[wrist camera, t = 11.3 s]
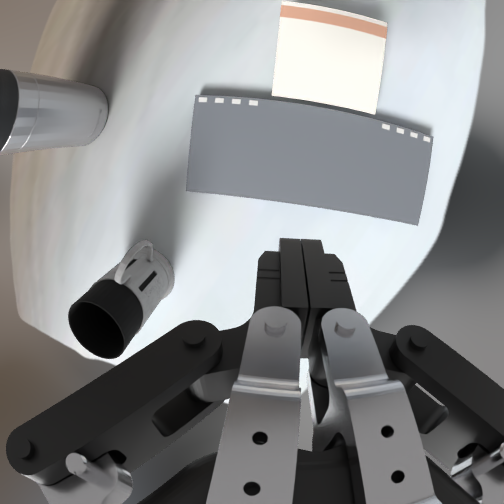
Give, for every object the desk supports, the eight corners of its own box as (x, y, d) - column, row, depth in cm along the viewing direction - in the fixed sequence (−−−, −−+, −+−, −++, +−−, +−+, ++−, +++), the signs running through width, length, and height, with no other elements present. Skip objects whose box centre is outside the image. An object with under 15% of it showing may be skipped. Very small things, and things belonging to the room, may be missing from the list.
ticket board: (189, 189, 36) (185, 191, 35) (198, 96, 32) (195, 94, 30) (413, 222, 35) (418, 225, 33) (428, 136, 31) (433, 136, 29)
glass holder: (114, 280, 42) (59, 333, 28) (147, 202, 37) (83, 234, 23) (160, 311, 43) (119, 375, 29) (202, 235, 38) (161, 286, 24)
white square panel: (271, 95, 29) (281, 0, 22) (271, 95, 30) (281, 3, 23) (375, 114, 28) (387, 22, 22) (372, 113, 29) (384, 24, 23)
